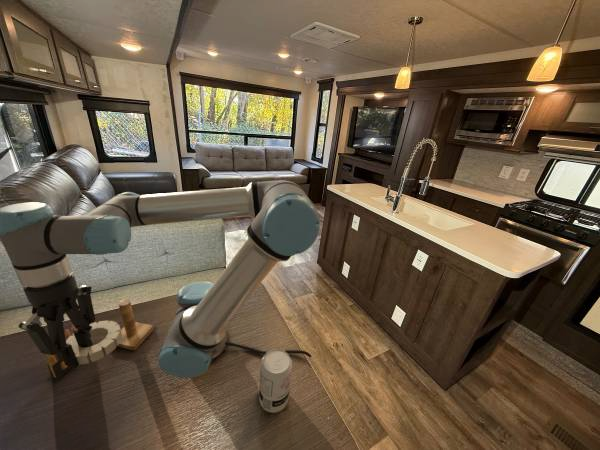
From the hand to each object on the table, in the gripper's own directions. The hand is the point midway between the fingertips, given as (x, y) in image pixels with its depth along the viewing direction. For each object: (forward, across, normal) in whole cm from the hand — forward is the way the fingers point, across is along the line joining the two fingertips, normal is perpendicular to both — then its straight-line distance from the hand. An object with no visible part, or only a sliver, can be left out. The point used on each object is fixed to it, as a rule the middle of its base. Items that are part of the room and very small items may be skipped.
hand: (79, 357), depth 60 cm
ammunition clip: (+14, -7, -13) cm, 21 cm away
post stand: (+14, -18, -4) cm, 24 cm away
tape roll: (0, -4, 0) cm, 4 cm away
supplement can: (+15, -8, +47) cm, 50 cm away
